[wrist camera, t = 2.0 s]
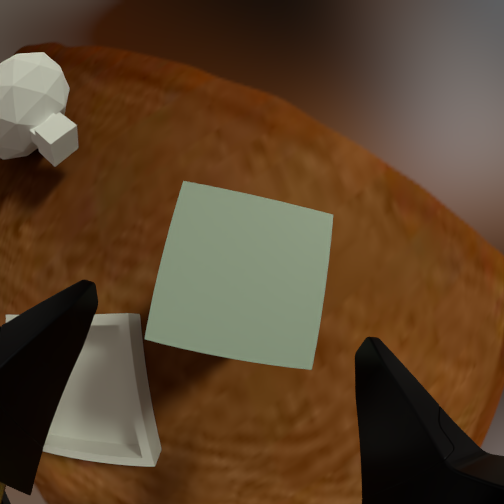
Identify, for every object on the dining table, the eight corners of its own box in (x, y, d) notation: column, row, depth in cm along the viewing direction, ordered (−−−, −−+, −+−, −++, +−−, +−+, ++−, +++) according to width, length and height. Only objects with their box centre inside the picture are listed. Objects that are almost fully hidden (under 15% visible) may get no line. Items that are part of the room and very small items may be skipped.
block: (251, 339, 17) (311, 369, 6) (187, 326, 17) (144, 339, 6) (263, 276, 18) (333, 214, 7) (200, 262, 18) (183, 180, 7)
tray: (161, 449, 14) (154, 466, 12) (47, 436, 13) (30, 447, 10) (140, 314, 16) (127, 313, 14) (26, 316, 15) (5, 314, 12)
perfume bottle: (-24, 150, 15) (32, 220, 16) (-47, 75, 7) (-3, 133, 9) (41, 100, 20) (108, 152, 21) (38, 26, 12) (116, 61, 13)
